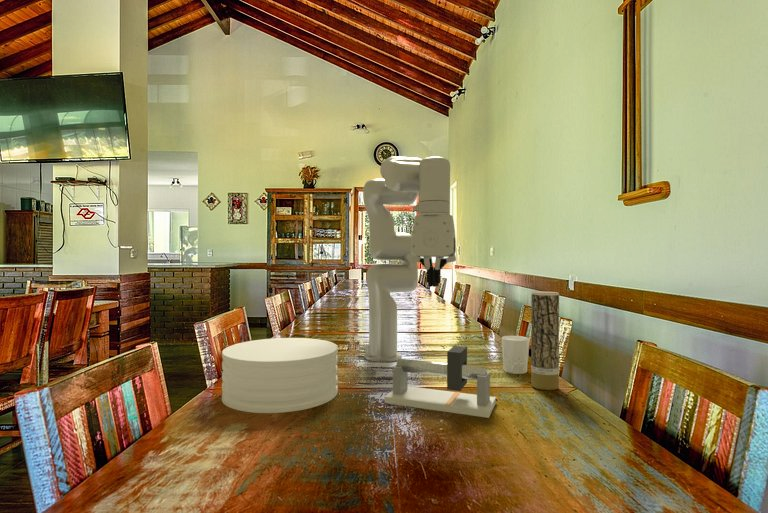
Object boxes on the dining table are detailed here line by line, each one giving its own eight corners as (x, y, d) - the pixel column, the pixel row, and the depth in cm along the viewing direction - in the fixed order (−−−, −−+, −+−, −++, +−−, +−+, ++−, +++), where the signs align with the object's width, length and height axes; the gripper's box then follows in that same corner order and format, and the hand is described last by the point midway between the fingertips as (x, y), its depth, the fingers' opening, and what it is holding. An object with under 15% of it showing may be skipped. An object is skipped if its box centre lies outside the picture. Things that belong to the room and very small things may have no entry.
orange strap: (444, 404, 98) (444, 367, 98) (455, 392, 107) (455, 358, 107) (450, 405, 97) (450, 368, 97) (460, 392, 106) (460, 358, 106)
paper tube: (561, 392, 112) (561, 293, 112) (533, 390, 113) (533, 293, 113) (556, 384, 119) (556, 291, 119) (529, 383, 120) (530, 291, 120)
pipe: (396, 372, 106) (396, 359, 106) (400, 369, 109) (400, 357, 109) (484, 382, 98) (484, 368, 98) (486, 378, 100) (486, 365, 100)
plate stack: (196, 401, 105) (196, 352, 105) (276, 373, 129) (276, 334, 129) (288, 422, 92) (288, 367, 92) (358, 387, 116) (358, 343, 116)
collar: (447, 389, 99) (447, 351, 99) (454, 381, 105) (454, 345, 105) (460, 391, 98) (460, 352, 98) (466, 382, 104) (467, 346, 104)
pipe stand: (384, 403, 103) (384, 368, 103) (399, 391, 112) (399, 359, 112) (488, 417, 94) (488, 380, 94) (495, 403, 103) (495, 369, 103)
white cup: (532, 374, 128) (532, 340, 128) (505, 374, 128) (505, 340, 128) (524, 368, 136) (524, 335, 136) (498, 367, 136) (498, 335, 136)
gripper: (399, 209, 106) (398, 286, 106) (461, 207, 100) (460, 288, 100) (410, 212, 113) (409, 284, 113) (468, 210, 107) (467, 286, 107)
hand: (433, 286), depth 106 cm, fingers closed
